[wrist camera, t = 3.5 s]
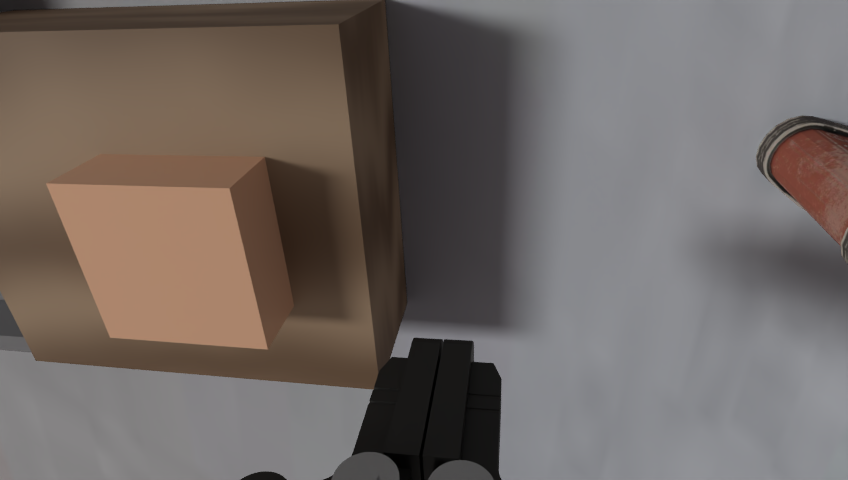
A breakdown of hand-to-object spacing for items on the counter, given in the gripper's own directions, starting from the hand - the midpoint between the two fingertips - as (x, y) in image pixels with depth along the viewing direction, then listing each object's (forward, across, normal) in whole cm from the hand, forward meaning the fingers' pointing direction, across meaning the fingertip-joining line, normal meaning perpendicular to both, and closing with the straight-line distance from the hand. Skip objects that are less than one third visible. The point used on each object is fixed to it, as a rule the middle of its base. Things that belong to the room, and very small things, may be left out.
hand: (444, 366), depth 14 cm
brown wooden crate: (+12, +11, -1) cm, 16 cm away
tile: (+6, +10, -1) cm, 11 cm away
